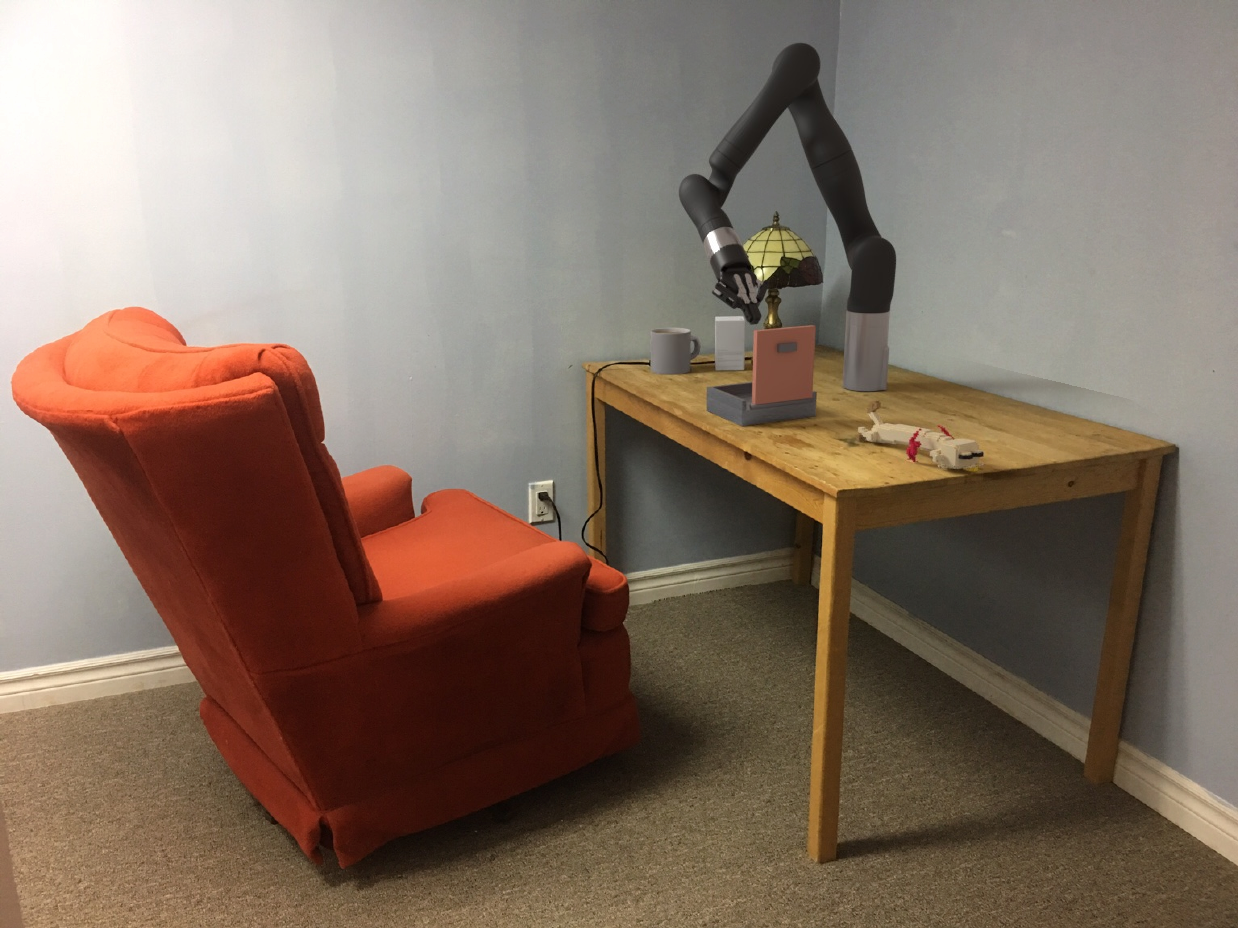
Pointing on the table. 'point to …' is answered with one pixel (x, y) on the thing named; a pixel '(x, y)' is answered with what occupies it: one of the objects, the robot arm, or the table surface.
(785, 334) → the flat pink square board
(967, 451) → the cream blocky figure
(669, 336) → the coffee mug
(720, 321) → the supplement box
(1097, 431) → the table surface
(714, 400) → the grey open box
